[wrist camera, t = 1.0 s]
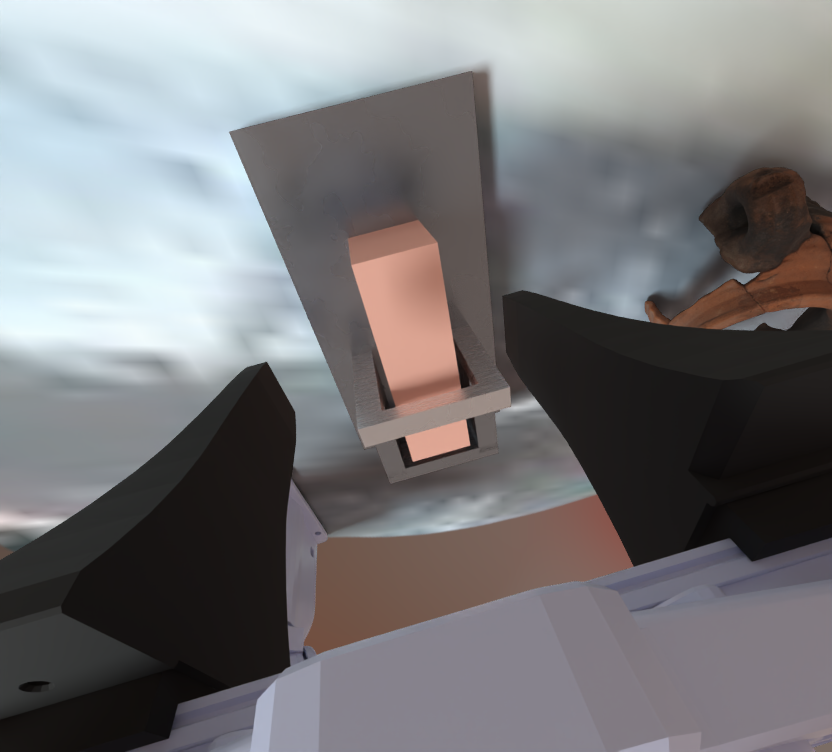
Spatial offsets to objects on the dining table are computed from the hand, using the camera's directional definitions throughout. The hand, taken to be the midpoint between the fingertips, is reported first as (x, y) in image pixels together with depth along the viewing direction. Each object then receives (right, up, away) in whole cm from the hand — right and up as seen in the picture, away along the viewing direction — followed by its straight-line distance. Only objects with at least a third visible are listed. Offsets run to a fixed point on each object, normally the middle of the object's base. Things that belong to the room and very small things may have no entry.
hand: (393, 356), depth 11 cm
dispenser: (0, +4, +10) cm, 11 cm away
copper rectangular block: (0, +2, +10) cm, 10 cm away
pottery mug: (+19, +7, +12) cm, 24 cm away
